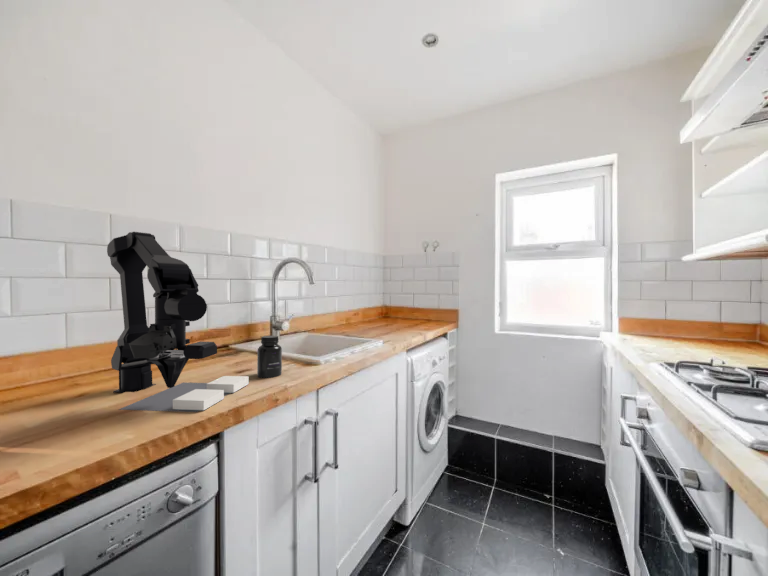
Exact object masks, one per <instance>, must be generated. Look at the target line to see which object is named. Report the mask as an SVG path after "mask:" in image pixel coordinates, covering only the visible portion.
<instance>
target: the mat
mask: <svg viewBox="0 0 768 576" xmlns="http://www.w3.org/2000/svg"><path fill="white" fill-rule="evenodd" d="M208 383H209V382H181V383H179V384H175V386H174V387H172V388H167V389H164V390H162V391H160V392H157V393H155V394H152V395H149V396H147V397H145V398H143V399H140V400H138V401H135V402H133V403H130V404H128V405H126V406H124V407H120V408H119V409H118V411H121V410H123V411H125V410H126V411H146V412H147V411H149V412H152V411H153V412H154V411H155V412H175V413H176V412H179V413H181V412H182V413H198V412H200V410H175V409H173V400H174V399H176V398H178V397H180V396H182V395H184V394H186V393H188V392H191V391H193V390H195V389H207V384H208ZM229 394H231V393H224V397H226V396H228V395H229Z"/></svg>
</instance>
